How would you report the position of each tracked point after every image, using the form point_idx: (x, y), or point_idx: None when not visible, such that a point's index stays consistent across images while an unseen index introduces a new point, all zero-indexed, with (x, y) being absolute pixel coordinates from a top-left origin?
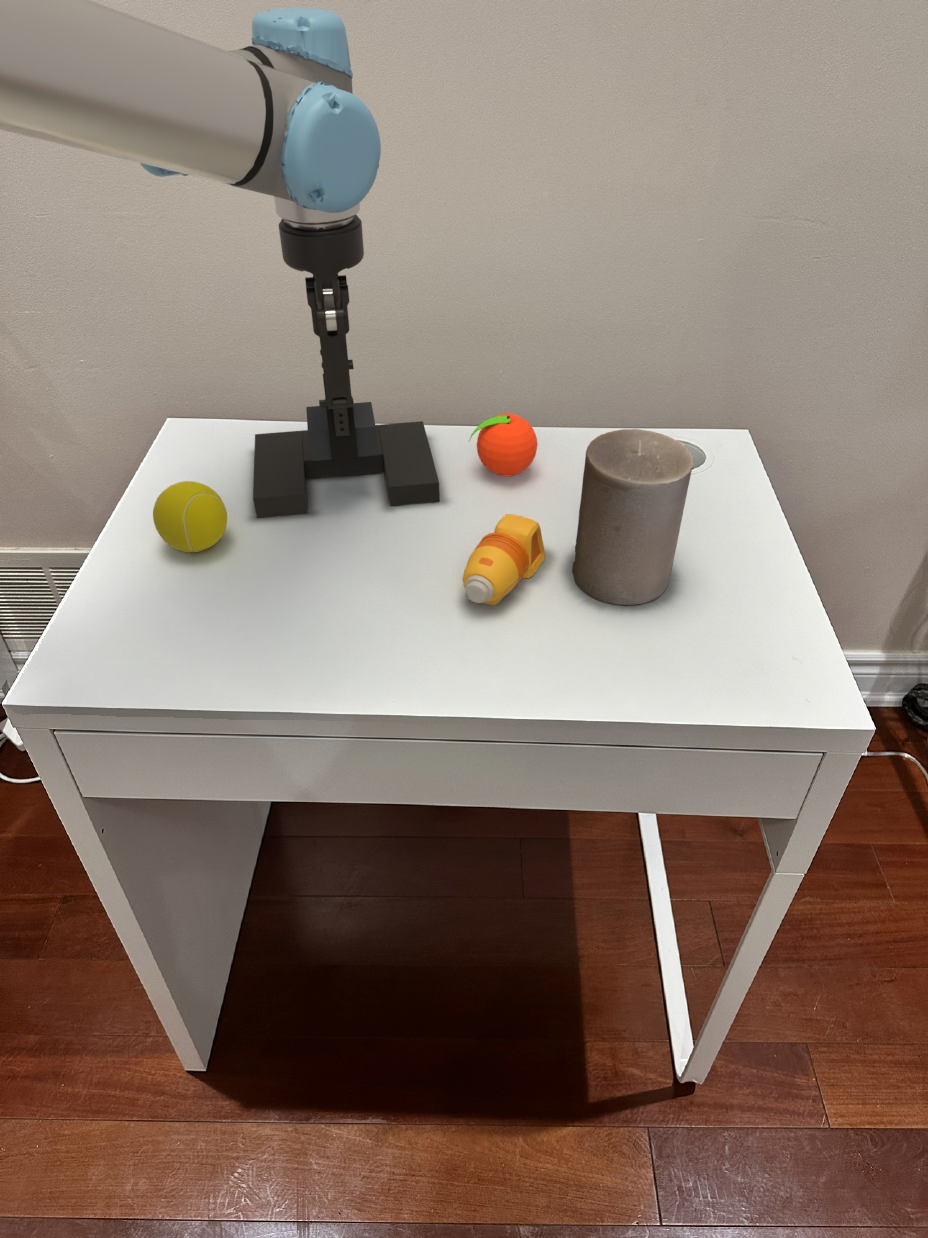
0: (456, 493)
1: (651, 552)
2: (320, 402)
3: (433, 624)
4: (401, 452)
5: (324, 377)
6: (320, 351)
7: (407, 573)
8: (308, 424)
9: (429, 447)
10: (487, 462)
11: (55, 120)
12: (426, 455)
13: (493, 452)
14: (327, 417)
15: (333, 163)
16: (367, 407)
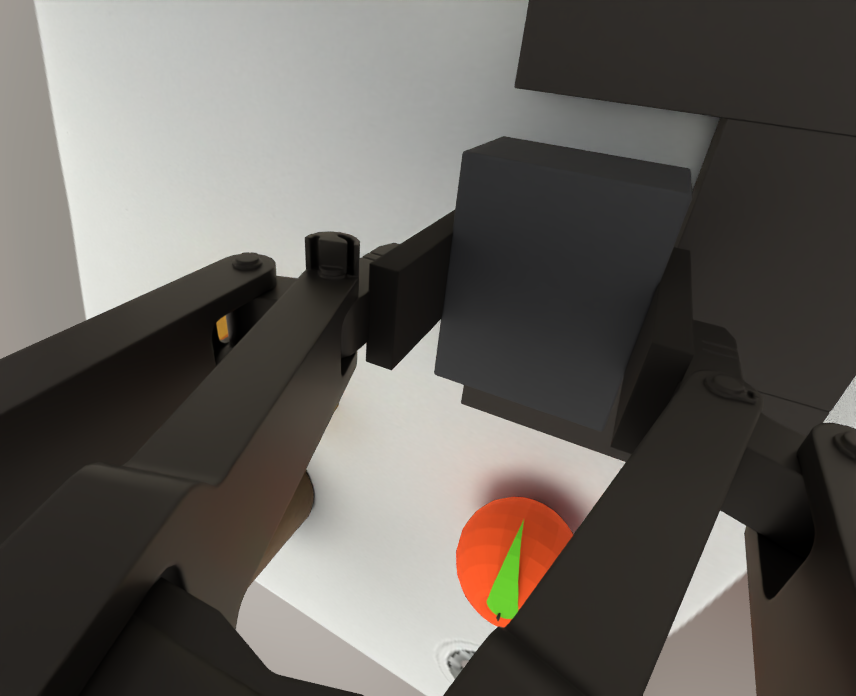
0: (494, 416)
1: None
2: (306, 242)
3: (188, 235)
4: (618, 396)
5: (115, 309)
6: (851, 446)
7: (290, 242)
8: (519, 166)
9: (611, 456)
10: (495, 505)
11: None
12: (576, 434)
13: (474, 528)
14: (399, 246)
15: None
16: (562, 405)
